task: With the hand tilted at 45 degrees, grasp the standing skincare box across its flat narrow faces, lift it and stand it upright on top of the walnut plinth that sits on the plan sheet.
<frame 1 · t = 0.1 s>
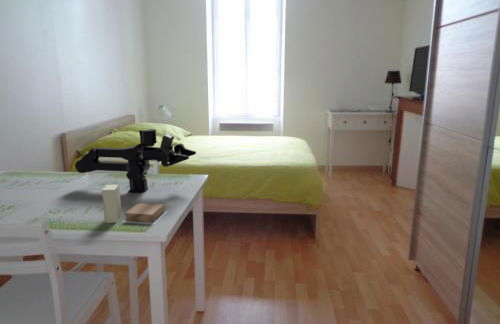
hand: (192, 155, 153), 17 cm above the table, tool horizontal, fingers open, 9 cm apart
plan sheet: (145, 217, 131), on the table
walnut plinth: (145, 216, 131), resting on plan sheet
skincare box: (113, 220, 128), on the table
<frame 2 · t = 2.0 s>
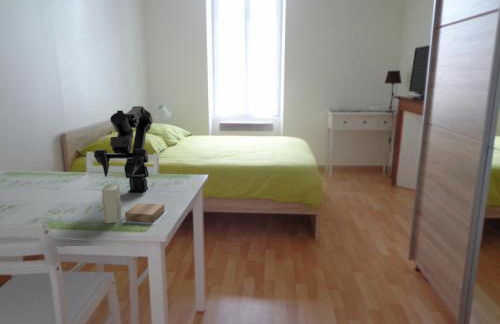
hand: (118, 175, 133), 14 cm above the table, tool tilted 45°, fingers open, 9 cm apart
nothing on the table moved.
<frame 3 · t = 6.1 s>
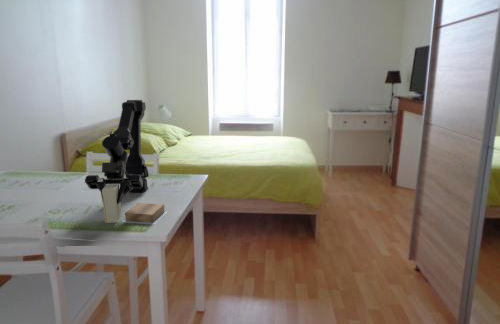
hand: (110, 203, 126), 7 cm above the table, tool tilted 45°, fingers closed on skincare box, 4 cm apart
skincare box: (113, 220, 128), on the table, touching gripper
when the fingers open (11 cm above the table, at t = 10.0 s): skincare box stays where it is, resting on walnut plinth.
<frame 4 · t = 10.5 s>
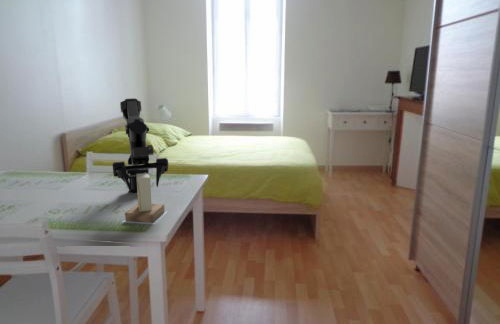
hand: (143, 187, 127), 11 cm above the table, tool tilted 45°, fingers open, 9 cm apart
skincare box: (145, 209, 130), point 3 cm above the table, touching walnut plinth
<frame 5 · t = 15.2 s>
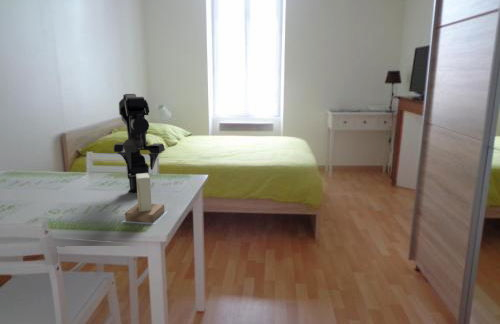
hand: (140, 169, 145), 13 cm above the table, tool pointing down, fingers open, 9 cm apart
nothing on the table moved.
at the end: skincare box inside the target area on the walnut plinth (0.0 cm from its centre), point 2.8 cm above the walnut plinth's base; skincare box tilted 0°; the gripper is holding nothing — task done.
